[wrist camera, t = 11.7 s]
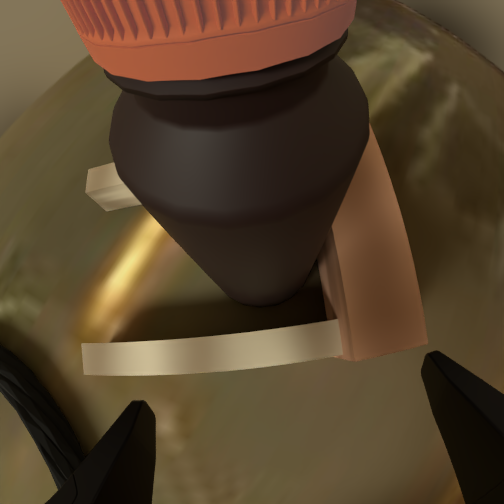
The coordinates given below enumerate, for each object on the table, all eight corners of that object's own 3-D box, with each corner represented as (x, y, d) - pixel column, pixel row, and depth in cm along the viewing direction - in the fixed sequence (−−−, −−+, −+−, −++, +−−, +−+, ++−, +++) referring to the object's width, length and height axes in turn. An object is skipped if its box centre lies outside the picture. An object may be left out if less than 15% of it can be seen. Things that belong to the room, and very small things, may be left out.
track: (344, 150, 23) (360, 100, 18) (388, 344, 19) (428, 343, 13) (108, 187, 24) (72, 149, 18) (110, 375, 20) (61, 380, 14)
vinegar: (330, 247, 21) (463, -64, 2) (271, 328, 20) (214, 58, 1) (251, 194, 23) (198, -108, 4) (192, 268, 22) (-37, 19, 2)
